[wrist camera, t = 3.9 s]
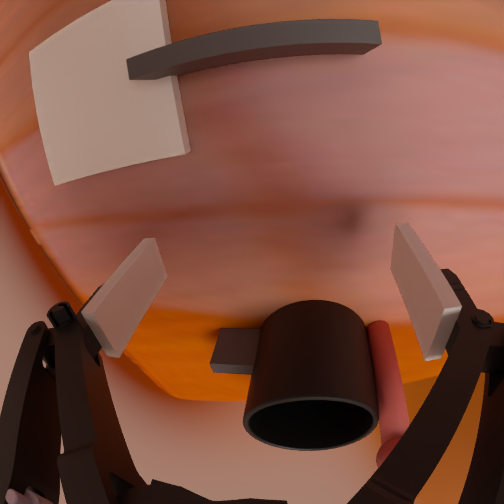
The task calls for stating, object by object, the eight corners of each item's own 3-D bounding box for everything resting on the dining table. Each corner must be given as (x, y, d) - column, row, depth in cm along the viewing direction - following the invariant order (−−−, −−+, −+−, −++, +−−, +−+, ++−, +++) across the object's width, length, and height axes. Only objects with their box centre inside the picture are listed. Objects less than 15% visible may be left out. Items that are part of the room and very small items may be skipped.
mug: (280, 386, 29) (270, 461, 21) (245, 306, 24) (221, 400, 16) (367, 375, 26) (375, 453, 19) (362, 286, 21) (382, 386, 13)
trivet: (37, 51, 14) (28, 52, 13) (163, -16, 11) (157, -20, 11) (62, 181, 20) (54, 186, 19) (190, 150, 17) (185, 154, 16)
